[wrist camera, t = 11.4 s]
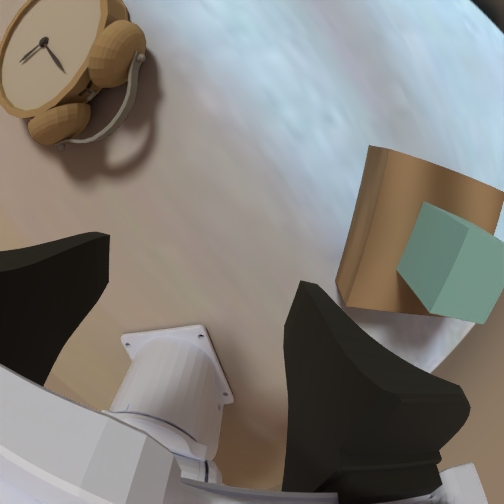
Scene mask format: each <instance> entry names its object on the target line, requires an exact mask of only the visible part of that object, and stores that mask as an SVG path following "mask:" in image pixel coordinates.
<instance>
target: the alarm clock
mask: <svg viewBox="0 0 504 504" xmlns="http://www.w3.org/2000/svg"><path fill="white" fill-rule="evenodd" d="M145 51H146V40H145V36H144V33H143V31H142V30H141V29H140V27H139V26H138V25H136V24H134V23H132V22H129V21H128V13H127V8H126V6H125V5H124V3H123V1H122V0H28V1H27V2H26V3H25V4H24V5H23V6H22V7H21V8H20V10H19V11H18V12H17V14H16V15H15V17H14V18H13V20H12V22H11V23H10V25H9V26H8V28H7V30H6V32H5V34H4V37H3V39H2V42H1V44H0V104H1V105H2V107H3V108H4V109H5V110H6V111H7V113H8V114H10V115H13V116H16V117H18V118H21V119H25V118H33V119H31V120H30V122H29V123H28V129H29V133H30V135H31V137H32V138H33V139H34V140H35V141H37V142H39V143H41V144H45V145H53V144H54V146H57V145H58V149H59V150H60V151H61V150H64V149H65V147H66V145H65V144H66V143H69V142H74V143H93V142H97V141H100V140H102V139H104V138H106V137H107V136H109V135H110V134H112V133H113V132H114V131H115V130H116V129H117V128H118V127H119V126H120V125H121V124H122V123H123V121H124V120H125V119H126V117H127V116H128V114H129V112H130V110H131V109H132V107H133V104H134V101H135V98H136V95H137V88H138V73H139V67H140V65H141V64H142V62H143V61H145V59H146V57H145ZM127 81H128V87H127V93H126V96H125V99H124V102H123V104H122V106H121V107H120V109H119V111H118V113H117V114H116V116H115V117H114V118H113V120H112V121H111V122H110V123H109V124H108V125H107V126H106V127H105V128H104V129H103V130H102V131H100V132H99V133H97V134H96V135H94V136H93V137H90V138H87V139H72V138H74V137H76V136H77V135H79V134H80V133H81V132H82V131H83V130H84V129H85V128H86V126H87V124H88V122H89V120H90V117H91V107H90V105H89V104H86V103H88V102H89V101H91V100H92V99H93V97H94V96H95V95H97V94H98V93H99V92H100V90H101V89H102V88H113V87H117V86H119V85H122V84H124V83H125V82H127Z"/></svg>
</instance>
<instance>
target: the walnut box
mask: <svg viewBox="0 0 504 504" xmlns="http://www.w3.org/2000/svg"><path fill="white" fill-rule="evenodd" d="M423 201H424V202H427V203H429V204H431V205H434V206H436V207H438V208H441V209H443V210H445V211H447V212H450V213H452V214H454V215H456V216H459V217H461V218H463V219H465V220H467V221H469V222H471V223H474V224H475V225H477V226H479V227H480V228H482V229H483V230H485V231H487V232H488V233H490V234H491V235H494V232H495V229H496V226H497V223H498V219H499V216H500V212H501V209H502V205H503V201H504V192H503V191H500V190H498V189H496V188H494V187H492V186H489V185H487V184H485V183H482V182H480V181H478V180H475V179H473V178H470V177H468V176H465V175H463V174H460V173H458V172H455V171H453V170H450V169H447V168H445V167H442V166H439V165H436V164H433V163H431V162H428V161H425V160H422V159H419V158H416V157H413V156H410V155H407V154H404V153H400V152H397V151H394V150H391V149H386V148H381V147H376V146H370V145H369V148H368V153H367V158H366V162H365V167H364V172H363V176H362V181H361V185H360V189H359V194H358V198H357V202H356V206H355V210H354V214H353V218H352V222H351V226H350V230H349V233H348V237H347V241H346V245H345V248H344V252H343V255H342V259H341V262H340V266H339V269H338V273H337V276H336V279H335V281H336V284H337V286H338V288H339V291H340V293H341V295H342V298H343V300H344V303H345V305H346V306H347V307H355V308H364V309H372V310H381V311H390V312H399V313H408V314H418V315H428V316H439V317H446V316H442V315H437V314H433V313H429V311H428V310H427V309H426V307H425V306H424V305H423V303H422V302H421V301H420V299H419V298H418V297H417V295H416V294H415V293H414V291H413V290H412V289H411V288H410V286H409V285H408V284H407V282H406V281H405V280H404V279H403V277H402V276H401V275H400V274H399V272H398V271H397V270H396V269H397V266H398V264H399V262H400V260H401V257H402V255H403V253H404V250H405V248H406V245H407V243H408V241H409V238H410V236H411V233H412V231H413V228H414V226H415V223H416V220H417V218H418V215H419V212H420V210H421V207H422V204H423ZM450 318H451V317H450Z"/></svg>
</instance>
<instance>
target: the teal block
mask: <svg viewBox="0 0 504 504" xmlns="http://www.w3.org/2000/svg"><path fill="white" fill-rule="evenodd" d="M396 270H397V271H398V272H399V274H400V275H401V276H402V277H403V279H404V280H405V281H406V282H407V284H408V285H409V286H410V288H411V289H412V290H413V291H414V293H415V294H416V295H417V297H418V298H419V299H420V301H421V302H422V303H423V305H424V306H425V307H426V309H427V310H428V311H429V313H433V314H437V315H442V316H446V317H451V318H456V319H460V320H465V321H470V322H474V323H479V324H484V323H485V321H486V319H487V318H488V316H489V314H490V312H491V310H492V309H493V307H494V305H495V303H496V301H497V299H498V298H499V296H500V294H501V292H502V290H503V288H504V242H502V241H501V240H499V239H498V238H496V237H495V236H493V235H491V234H490V233H488V232H487V231H485V230H483V229H482V228H480V227H479V226H477V225H475V224H474V223H471V222H469V221H467V220H465V219H463V218H461V217H459V216H456V215H454V214H452V213H450V212H447V211H445V210H443V209H441V208H438V207H436V206H434V205H431V204H429V203H427V202H424V201H423V204H422V207H421V210H420V212H419V215H418V218H417V220H416V223H415V226H414V228H413V231H412V233H411V236H410V238H409V241H408V243H407V245H406V248H405V250H404V253H403V255H402V257H401V260H400V262H399V264H398V266H397V269H396Z"/></svg>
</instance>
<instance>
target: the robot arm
mask: <svg viewBox="0 0 504 504" xmlns="http://www.w3.org/2000/svg"><path fill="white" fill-rule="evenodd" d="M109 245H110V235H108V234H104V233H100V232H88V233H83V234H79V235H75V236H71V237H67V238H63V239H60V240H56V241H52V242H48V243H44V244H39V245H35V246H31V247H26V248H21V249H15V250H8V251H0V504H488V502H487V499H486V496H485V493H484V491H483V488H482V485H481V482H480V480H479V477H478V474H477V472H476V469H475V467H474V464H473V463H467V464H463V465H459V466H454V467H450V468H447V469H445V470H442V471H441V472H439V471H438V468H437V465H436V464H438V463H439V462H440V461H441V459H442V458H441V455H440V452H439V450H440V449H441V448H442V447H443V446H444V445H445V444H446V443H447V442H448V441H449V440H450V439H451V438H452V437H453V436H454V435H455V434H456V433H457V432H458V431H459V430H460V429H461V427H462V426H463V425H464V423H465V422H466V420H467V418H468V416H469V413H470V408H471V407H470V404H469V402H468V400H467V398H466V396H465V394H464V392H463V390H462V389H461V387H460V386H459V385H456V384H454V383H451V382H449V381H446V380H444V379H441V378H439V377H436V376H434V375H431V374H429V373H427V372H425V371H423V370H421V369H419V368H417V367H415V366H414V365H412V364H410V363H408V362H406V361H405V360H403V359H402V358H400V357H398V356H397V355H395V354H394V353H392V352H391V351H389V350H388V349H386V348H385V347H383V346H382V345H381V344H379V343H378V342H377V341H376V340H374V339H373V338H372V337H370V336H369V335H368V334H367V333H366V332H364V331H363V330H362V329H361V328H360V327H359V326H358V325H357V324H356V323H355V322H354V321H353V320H352V319H351V318H350V317H348V316H347V315H346V313H345V312H344V311H343V310H342V309H341V308H340V307H339V306H338V305H337V304H336V303H335V302H334V301H333V300H332V299H331V298H330V297H329V296H328V294H327V293H326V292H325V291H324V290H323V289H322V288H321V287H320V286H318V285H317V284H314V283H310V282H305V281H301V280H300V283H299V286H298V289H297V292H296V295H295V298H294V300H293V303H292V306H291V309H290V311H289V314H288V317H287V320H286V322H285V325H284V345H283V349H284V360H285V370H286V380H287V390H288V432H287V447H286V458H285V468H284V477H283V485H282V491H281V492H279V491H267V490H256V489H247V488H239V487H232V486H226V485H222V474H221V472H220V470H219V469H218V467H217V465H216V463H215V462H214V461H212V460H213V459H214V457H215V455H216V453H217V450H218V444H219V437H220V430H221V422H222V415H223V408H224V404H231V403H233V402H234V397H233V394H232V392H231V390H230V387H229V385H228V383H227V380H226V378H225V375H224V373H223V371H222V368H221V366H220V363H219V361H218V358H217V356H216V353H215V351H214V348H213V346H212V343H211V341H210V338H209V336H208V333H207V330H206V328H205V327H204V326H203V325H192V326H185V327H178V328H170V329H163V330H155V331H147V332H138V333H129V334H123V335H122V337H121V341H122V343H123V345H124V347H125V349H126V351H127V352H128V354H129V356H130V358H131V360H132V363H131V365H130V367H129V369H128V371H127V373H126V376H125V378H124V380H123V382H122V384H121V386H120V388H119V390H118V392H117V394H116V396H115V398H114V400H113V403H112V405H111V407H110V409H109V411H106V410H102V411H101V412H100V411H97V410H95V409H92V408H90V407H87V406H85V405H82V404H80V403H77V402H75V401H73V400H71V399H68V398H66V397H64V396H62V395H59V394H57V393H55V392H53V391H51V390H49V389H47V388H45V387H43V386H44V383H45V381H46V379H47V377H48V375H49V373H50V371H51V369H52V367H53V365H54V363H55V361H56V359H57V357H58V355H59V353H60V352H61V350H62V348H63V346H64V345H65V343H66V342H67V340H68V339H69V337H70V336H71V335H72V334H73V332H74V331H75V330H76V328H77V327H78V326H79V324H80V323H81V322H82V321H83V319H84V318H85V317H86V316H87V314H88V313H89V312H90V310H91V309H92V308H93V307H94V305H95V304H96V303H97V301H98V300H99V298H100V296H101V295H102V293H103V291H104V290H105V288H106V286H107V284H108V282H109ZM200 335H203V336H204V337H201V336H200ZM128 343H129V344H130V345H129V344H128Z"/></svg>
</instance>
